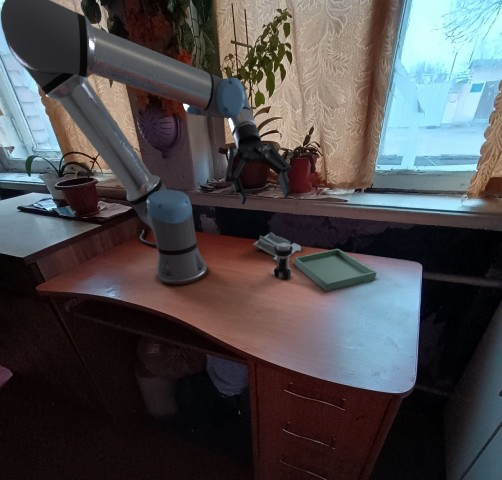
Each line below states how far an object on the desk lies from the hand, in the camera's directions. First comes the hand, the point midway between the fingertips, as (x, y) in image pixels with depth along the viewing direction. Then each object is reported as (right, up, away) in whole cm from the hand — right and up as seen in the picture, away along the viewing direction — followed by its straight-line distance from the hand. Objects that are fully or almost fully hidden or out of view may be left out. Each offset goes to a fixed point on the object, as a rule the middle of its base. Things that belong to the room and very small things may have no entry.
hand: (266, 198), depth 90 cm
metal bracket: (+4, -11, +19) cm, 22 cm away
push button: (+5, -22, +4) cm, 23 cm away
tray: (+20, -20, +5) cm, 29 cm away
